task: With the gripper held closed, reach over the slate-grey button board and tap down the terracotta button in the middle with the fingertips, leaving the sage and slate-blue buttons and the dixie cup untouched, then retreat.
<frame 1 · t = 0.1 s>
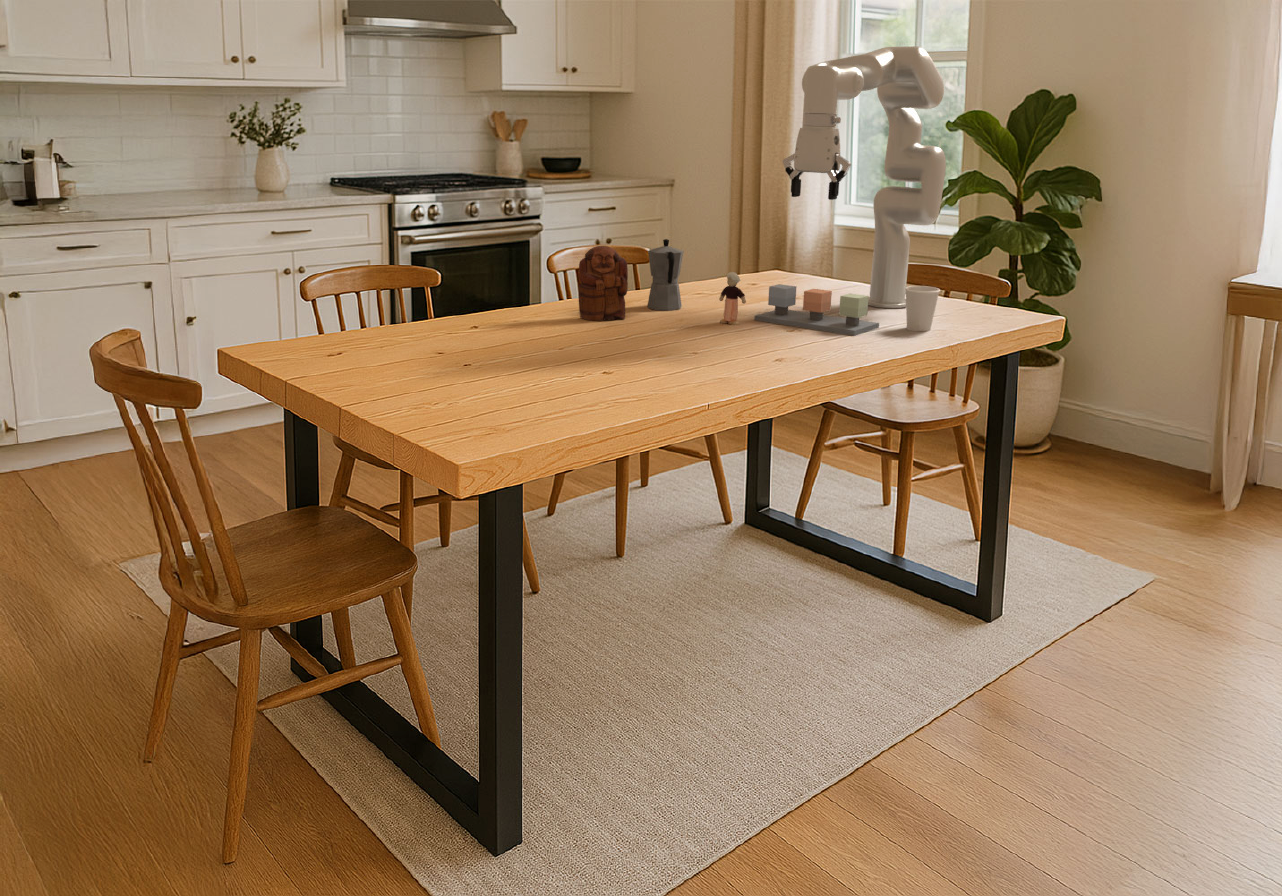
hand: (813, 198, 256), 31 cm above the table, fingers open, 9 cm apart
button terracotta: (817, 300, 269), point 6 cm above the table, slide at 0.0 cm
coffeepot: (665, 309, 287), on the table
dixie cup: (918, 329, 267), on the table
button sage: (853, 305, 263), point 6 cm above the table, slide at 0.0 cm
button slate: (782, 295, 275), point 6 cm above the table, slide at 0.0 cm
button board: (815, 323, 271), on the table
grandmother figurine: (730, 324, 270), on the table
wooden figurine: (603, 319, 272), on the table
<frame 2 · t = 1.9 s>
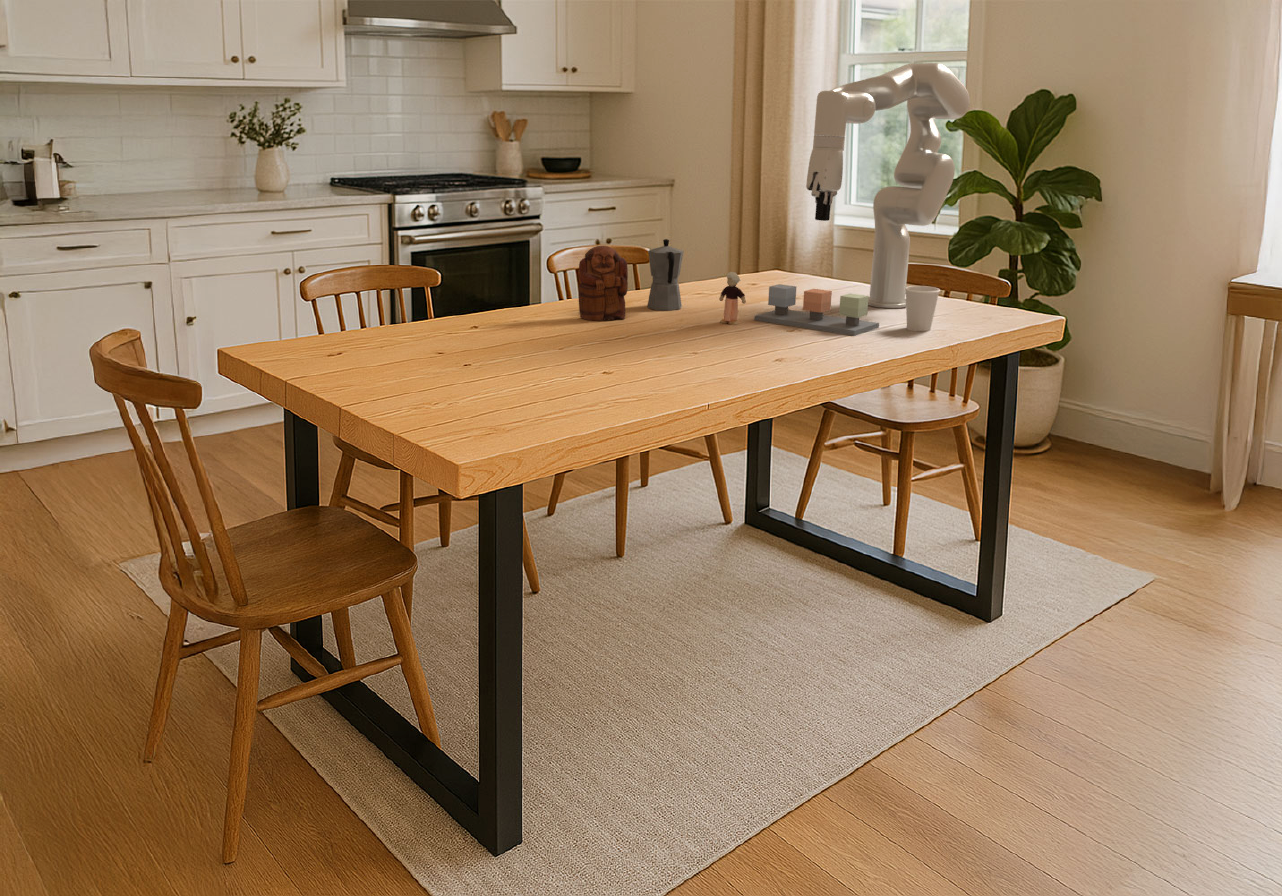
hand: (822, 220, 271), 25 cm above the table, fingers closed
nothing on the table moved.
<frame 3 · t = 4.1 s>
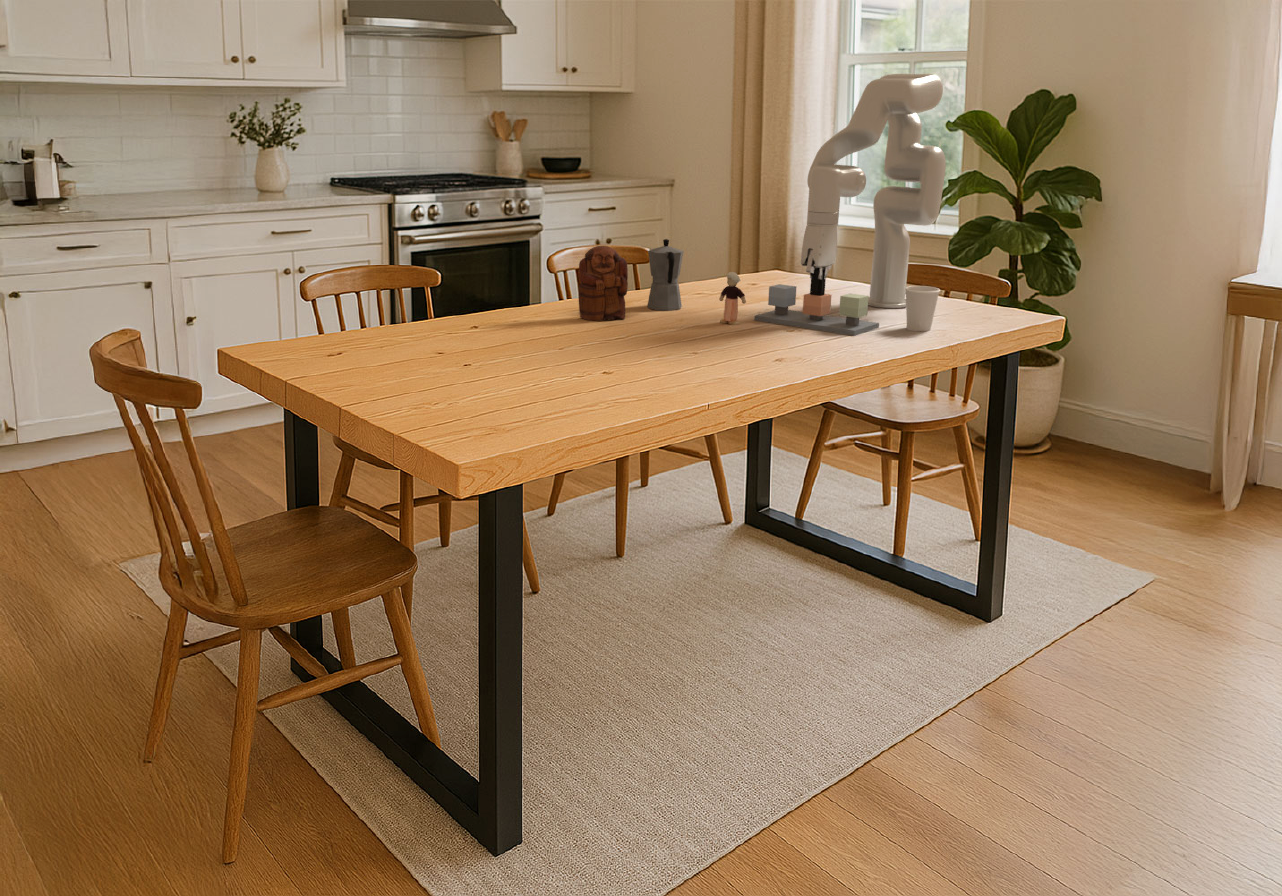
hand: (817, 294, 268), 7 cm above the table, fingers closed
button terracotta: (817, 304, 269), point 5 cm above the table, slide at 0.9 cm, touching gripper
everything else where it was.
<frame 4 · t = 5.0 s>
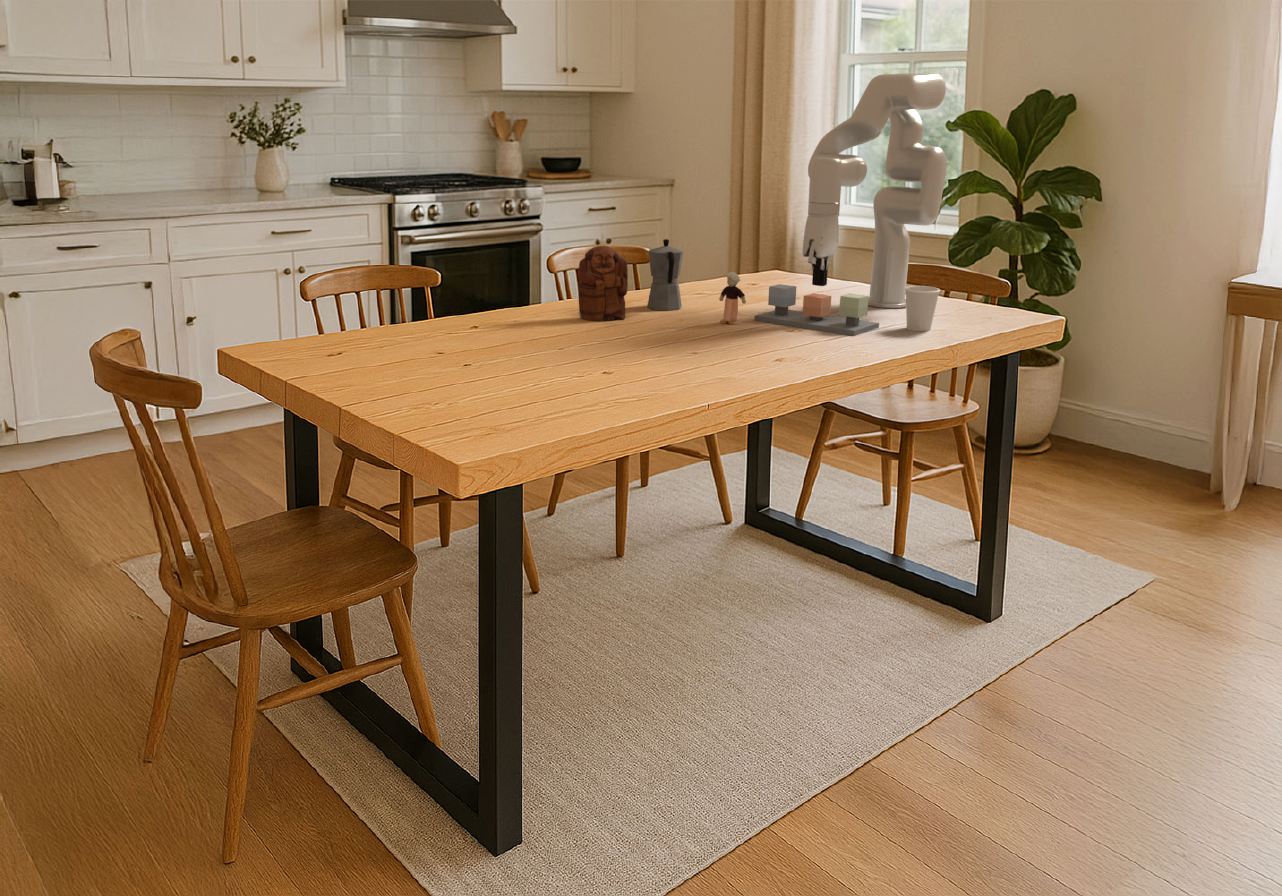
hand: (819, 285, 268), 10 cm above the table, fingers closed
button terracotta: (816, 305, 269), point 5 cm above the table, slide at 1.2 cm
everything else where it was.
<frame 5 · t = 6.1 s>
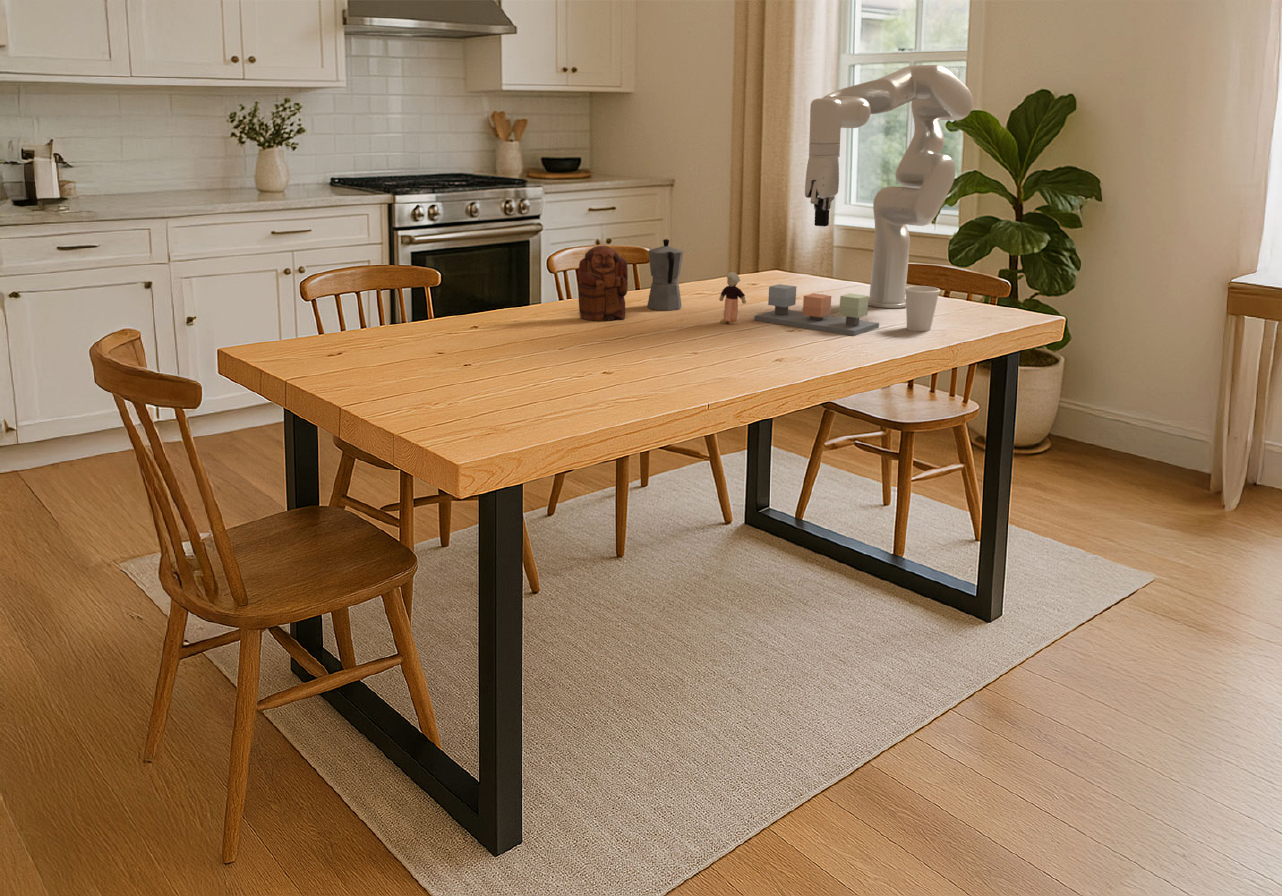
hand: (821, 225, 275), 23 cm above the table, fingers closed
nothing on the table moved.
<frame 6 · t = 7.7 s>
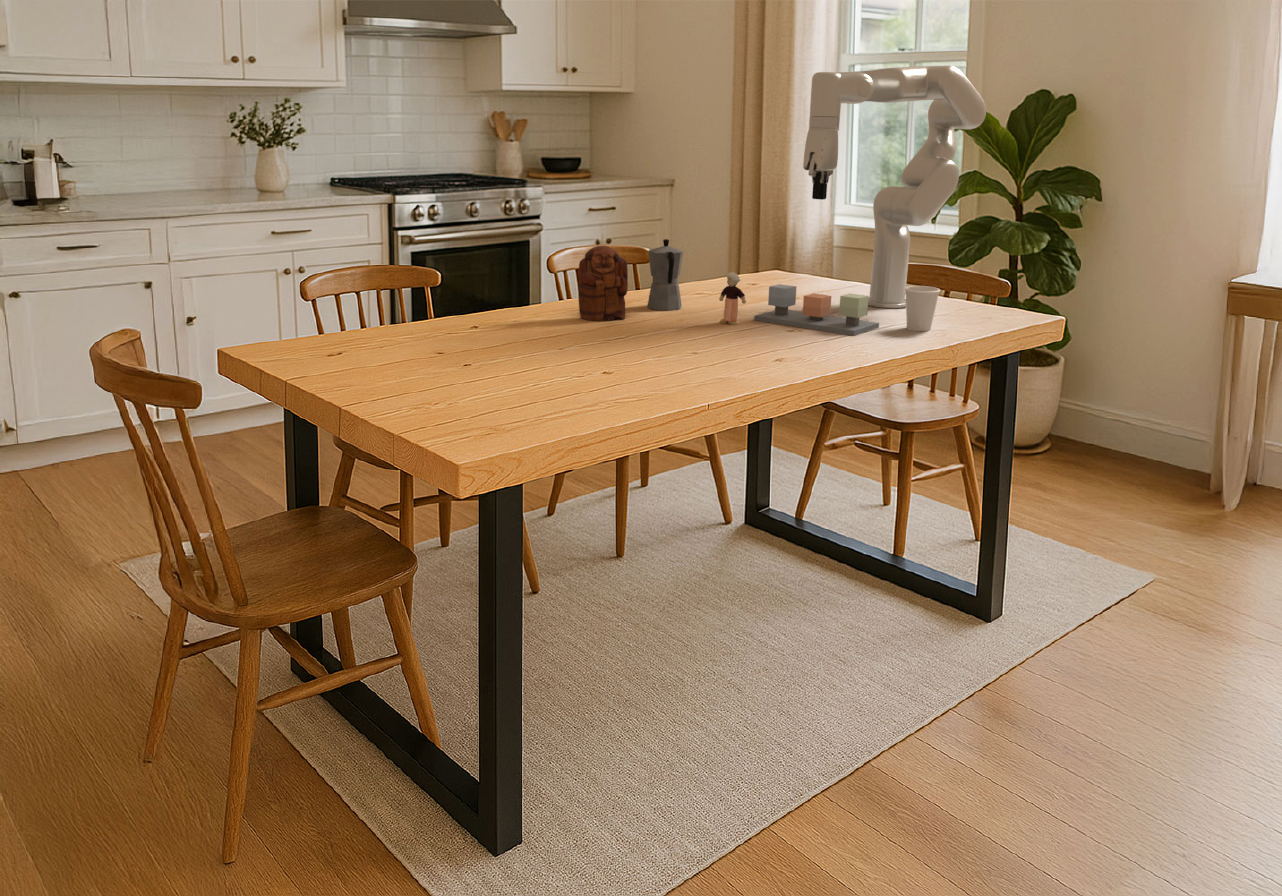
hand: (819, 198, 278), 29 cm above the table, fingers closed
nothing on the table moved.
at the end: button terracotta slide at 1.2 cm; button sage slide at 0.0 cm; button slate slide at 0.0 cm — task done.
